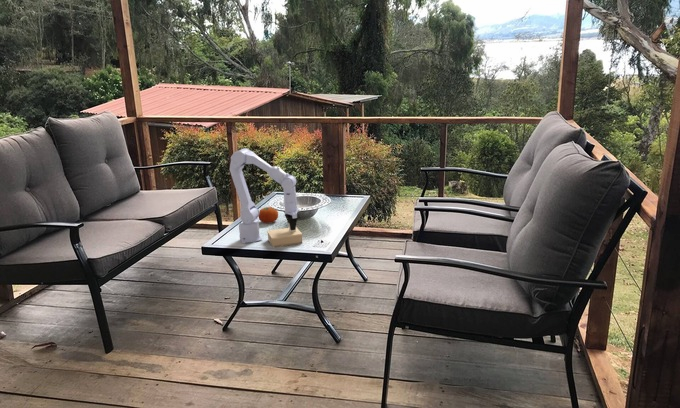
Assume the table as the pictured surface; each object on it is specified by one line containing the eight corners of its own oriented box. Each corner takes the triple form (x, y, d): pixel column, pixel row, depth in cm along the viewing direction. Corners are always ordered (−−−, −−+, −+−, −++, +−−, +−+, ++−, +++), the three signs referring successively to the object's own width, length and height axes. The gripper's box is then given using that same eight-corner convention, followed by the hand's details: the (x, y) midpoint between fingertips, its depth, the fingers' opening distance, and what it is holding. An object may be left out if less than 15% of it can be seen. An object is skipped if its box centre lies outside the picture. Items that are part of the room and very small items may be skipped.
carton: (273, 247, 235) (272, 239, 234) (268, 239, 246) (267, 232, 245) (302, 243, 239) (301, 235, 238) (296, 235, 250) (295, 228, 249)
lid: (272, 239, 233) (271, 229, 232) (267, 231, 245) (266, 222, 244) (302, 234, 238) (301, 225, 236) (296, 227, 249) (295, 218, 248)
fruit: (270, 218, 282) (269, 204, 280) (282, 221, 275) (281, 207, 273) (255, 222, 275) (253, 208, 273) (266, 226, 268) (265, 211, 266)
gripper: (302, 203, 233) (304, 232, 236) (295, 197, 246) (297, 223, 250) (287, 205, 231) (289, 234, 234) (280, 198, 244) (282, 225, 248)
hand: (292, 229), depth 242 cm, fingers closed on lid, 2 cm apart
